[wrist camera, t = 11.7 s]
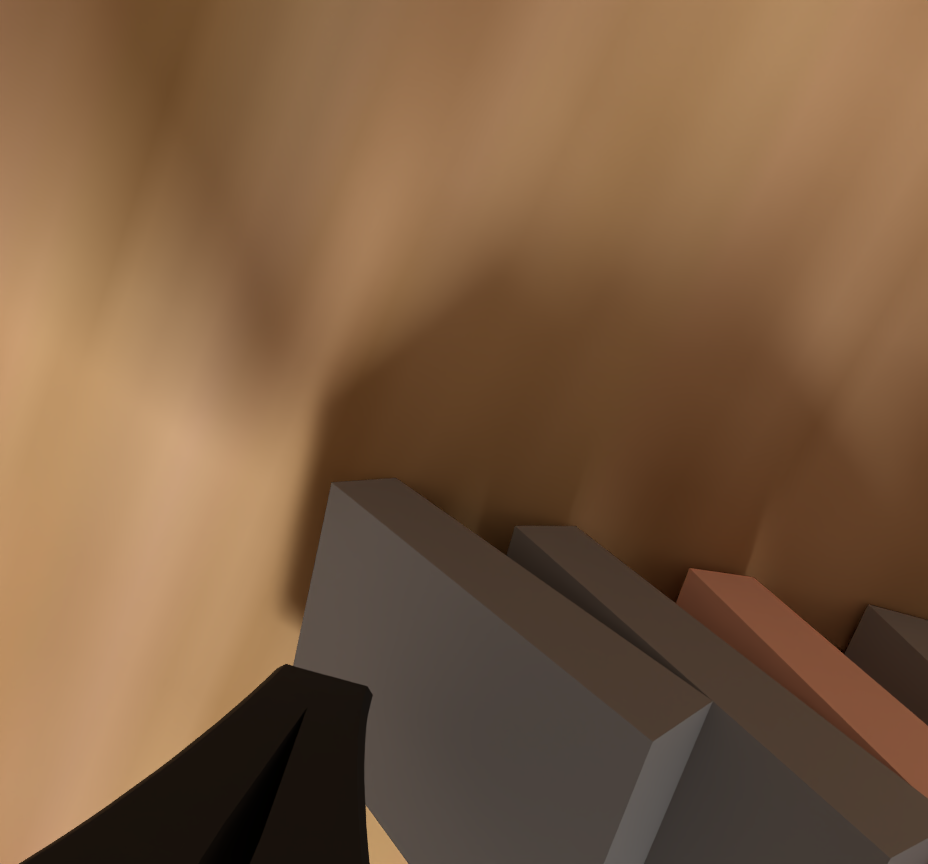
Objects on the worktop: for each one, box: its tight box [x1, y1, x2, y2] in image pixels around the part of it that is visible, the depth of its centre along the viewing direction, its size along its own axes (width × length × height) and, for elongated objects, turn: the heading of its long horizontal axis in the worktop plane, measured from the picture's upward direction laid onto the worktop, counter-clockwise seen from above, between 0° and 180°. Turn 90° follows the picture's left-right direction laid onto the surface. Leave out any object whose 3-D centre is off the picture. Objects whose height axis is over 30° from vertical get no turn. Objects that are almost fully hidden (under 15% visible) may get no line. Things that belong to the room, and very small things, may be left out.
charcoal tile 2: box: [506, 526, 928, 864], centre depth 10 cm, size 2×5×7 cm
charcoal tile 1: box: [293, 478, 713, 864], centre depth 11 cm, size 2×5×7 cm
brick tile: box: [676, 568, 928, 798], centre depth 10 cm, size 2×5×7 cm, turn 166°
